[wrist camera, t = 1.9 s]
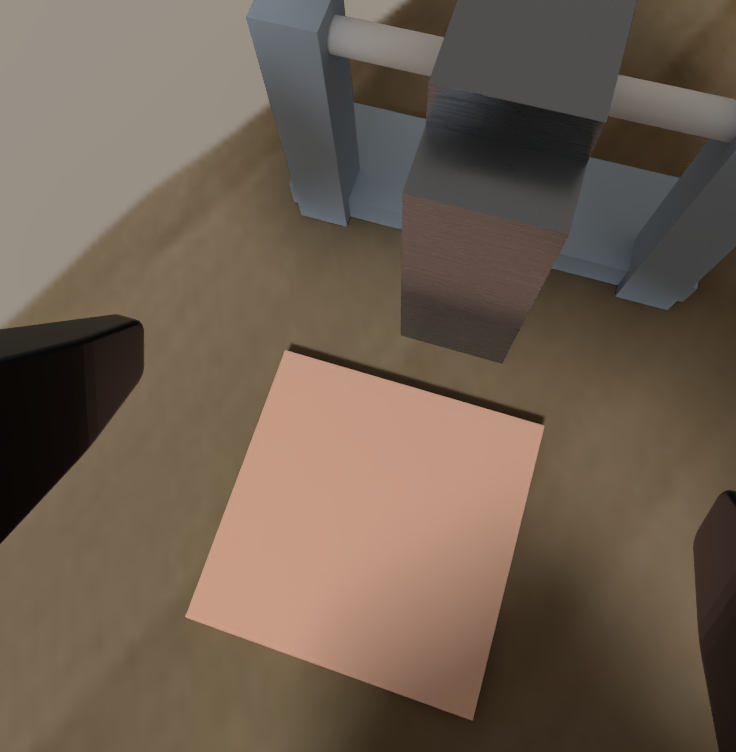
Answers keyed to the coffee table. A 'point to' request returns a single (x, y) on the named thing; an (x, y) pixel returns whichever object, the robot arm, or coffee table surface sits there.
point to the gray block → (503, 162)
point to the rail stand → (403, 132)
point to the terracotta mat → (372, 531)
